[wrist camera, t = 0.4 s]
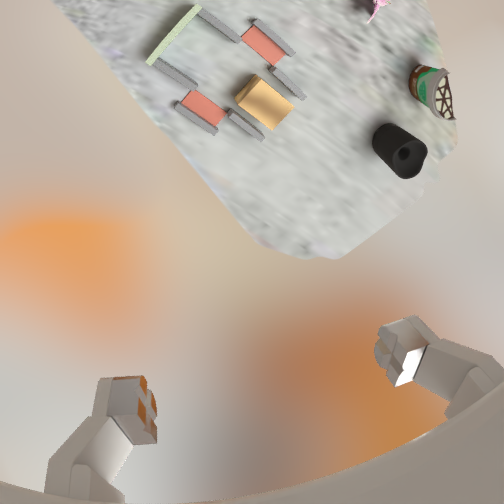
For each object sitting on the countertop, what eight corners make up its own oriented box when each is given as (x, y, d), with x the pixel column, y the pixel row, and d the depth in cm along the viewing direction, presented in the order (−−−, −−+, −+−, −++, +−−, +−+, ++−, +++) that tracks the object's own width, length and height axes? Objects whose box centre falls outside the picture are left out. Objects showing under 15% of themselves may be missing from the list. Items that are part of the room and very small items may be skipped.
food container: (398, 65, 48) (428, 78, 41) (418, 58, 47) (449, 70, 40) (410, 113, 57) (437, 130, 50) (429, 104, 55) (456, 121, 48)
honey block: (255, 74, 47) (261, 79, 44) (286, 99, 52) (294, 107, 48) (234, 97, 50) (238, 104, 46) (265, 121, 54) (271, 130, 51)
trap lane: (214, -13, 34) (217, -17, 31) (318, 77, 49) (328, 83, 46) (133, 79, 43) (128, 84, 39) (241, 152, 58) (246, 163, 54)
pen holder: (408, 142, 62) (432, 162, 55) (380, 164, 66) (402, 186, 59) (393, 114, 56) (420, 131, 49) (363, 137, 60) (387, 158, 53)
